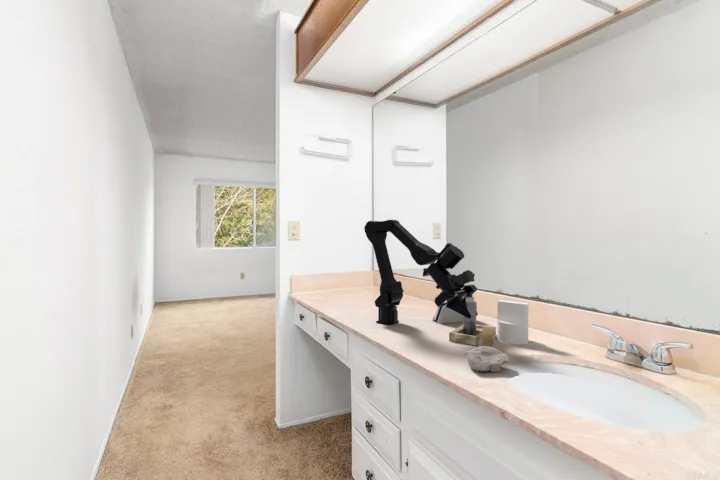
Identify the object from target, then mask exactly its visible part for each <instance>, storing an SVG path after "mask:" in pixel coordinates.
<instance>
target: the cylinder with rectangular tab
mask: <svg viewBox="0 0 720 480" xmlns="http://www.w3.org/2000/svg"><path fill="white" fill-rule="evenodd" d="M529 305H530V304H529V302H521V301H512V300H505V299H499V300H497V326H496V336H497V340H498V341H499V342H502V343H506V344H510V345H526V344H528V343H529V309H530V308H529V307H530V306H529Z"/></svg>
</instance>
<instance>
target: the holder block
mask: <svg viewBox="0 0 720 480" xmlns="http://www.w3.org/2000/svg"><path fill="white" fill-rule="evenodd" d="M482 326H488V327H493V337H495V336H497V326H493V325H484V324H477V323H476V336H473V335H467V334H463V324H462V325H460V326H459V327H457V328H455V329H453V330H451V331H450V332H449V333H448V337H449V339H448V340H449V341H450V342H454V343H460V344H465V345H471V346H477V347H479V346H482ZM449 341H448V342H449Z"/></svg>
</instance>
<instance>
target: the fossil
mask: <svg viewBox="0 0 720 480" xmlns="http://www.w3.org/2000/svg"><path fill="white" fill-rule="evenodd" d="M466 355H467V356H466V361H467V363H468V366H469V368H470V369H472V370H473V371H476V372H480V373H481V372H488V371H490V372H491V373H500V372H501V370H502V367H503V366H504V365H505V364H509V361H510V358H509V356H508V355H507V353H505V352H502V351H501V350H499V349H497V348H495V347H494V346H493V347H489V346H477V347H474V348H472V349H469V350H467V352H466Z"/></svg>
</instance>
